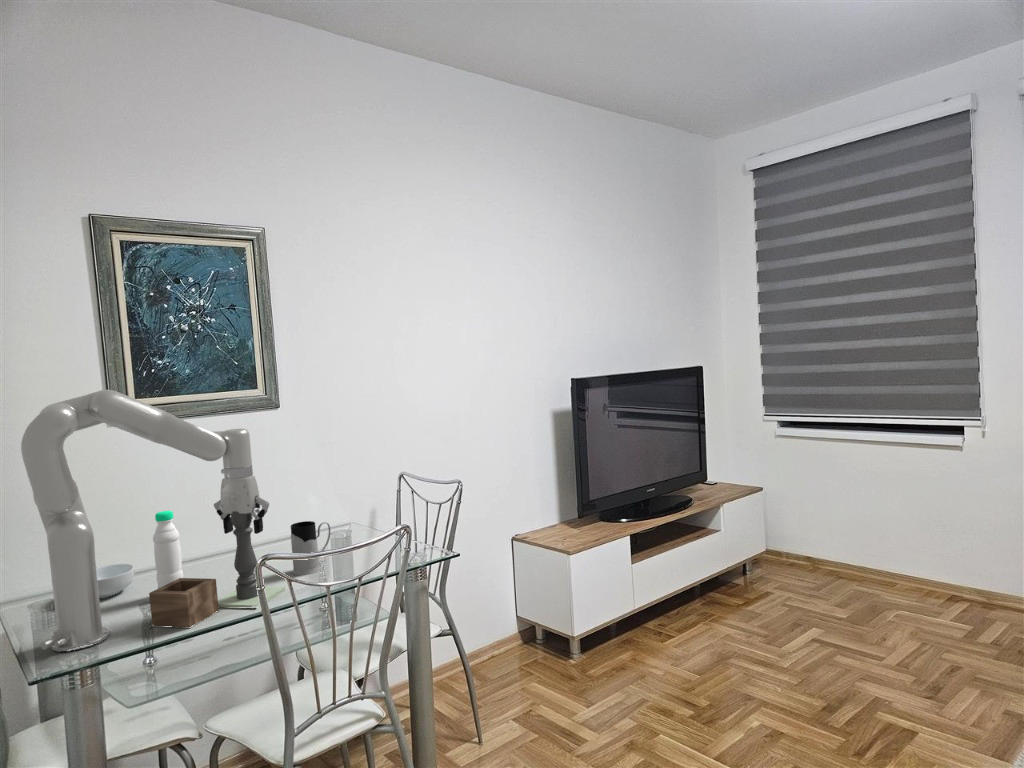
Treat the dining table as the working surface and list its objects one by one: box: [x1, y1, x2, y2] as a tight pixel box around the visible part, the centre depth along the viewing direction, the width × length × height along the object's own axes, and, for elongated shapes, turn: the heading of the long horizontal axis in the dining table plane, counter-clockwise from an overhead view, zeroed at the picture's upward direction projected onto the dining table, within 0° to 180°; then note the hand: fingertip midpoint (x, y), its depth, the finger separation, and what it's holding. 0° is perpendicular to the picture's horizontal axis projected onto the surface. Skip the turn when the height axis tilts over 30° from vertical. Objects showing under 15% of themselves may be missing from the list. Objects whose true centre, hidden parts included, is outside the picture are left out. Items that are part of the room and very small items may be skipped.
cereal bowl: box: [96, 563, 135, 599], centre depth 211 cm, size 17×17×7 cm
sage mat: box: [218, 586, 286, 607], centre depth 199 cm, size 14×14×1 cm
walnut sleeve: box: [148, 577, 220, 628], centre depth 187 cm, size 12×12×9 cm
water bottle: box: [152, 510, 184, 589], centre depth 206 cm, size 7×7×25 cm
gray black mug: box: [290, 520, 331, 576], centre depth 224 cm, size 9×14×15 cm, turn 140°
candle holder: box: [230, 512, 258, 600], centre depth 198 cm, size 6×6×25 cm
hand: (243, 532), depth 198 cm, fingers open, 9 cm apart
